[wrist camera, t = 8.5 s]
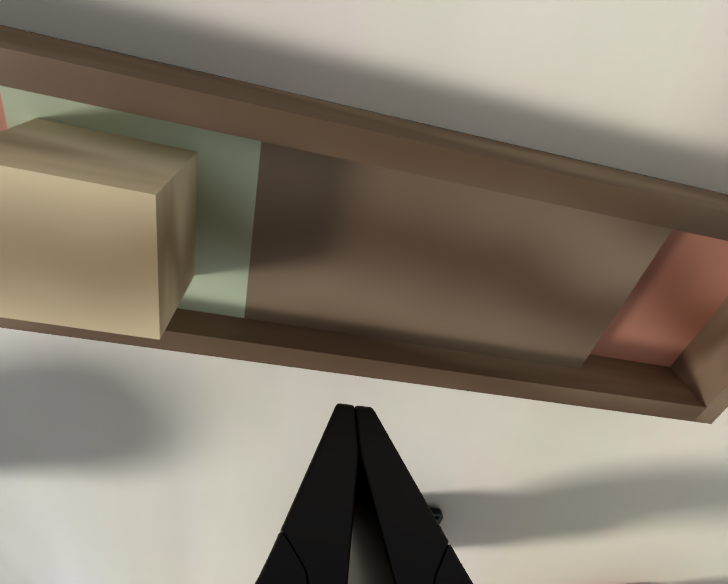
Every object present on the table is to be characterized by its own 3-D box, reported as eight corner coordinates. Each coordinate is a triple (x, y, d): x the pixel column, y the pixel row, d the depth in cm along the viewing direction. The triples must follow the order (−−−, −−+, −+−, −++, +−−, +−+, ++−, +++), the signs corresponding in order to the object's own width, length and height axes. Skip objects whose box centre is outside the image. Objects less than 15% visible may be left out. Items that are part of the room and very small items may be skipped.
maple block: (194, 275, 17) (160, 339, 14) (58, 252, 17) (-12, 315, 13) (197, 151, 15) (155, 194, 11) (36, 117, 14) (-60, 153, 11)
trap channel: (672, 380, 24) (711, 423, 22) (-92, 264, 18) (-160, 305, 16) (811, 214, 19) (883, 246, 16) (-202, -22, 13) (-332, -28, 11)
